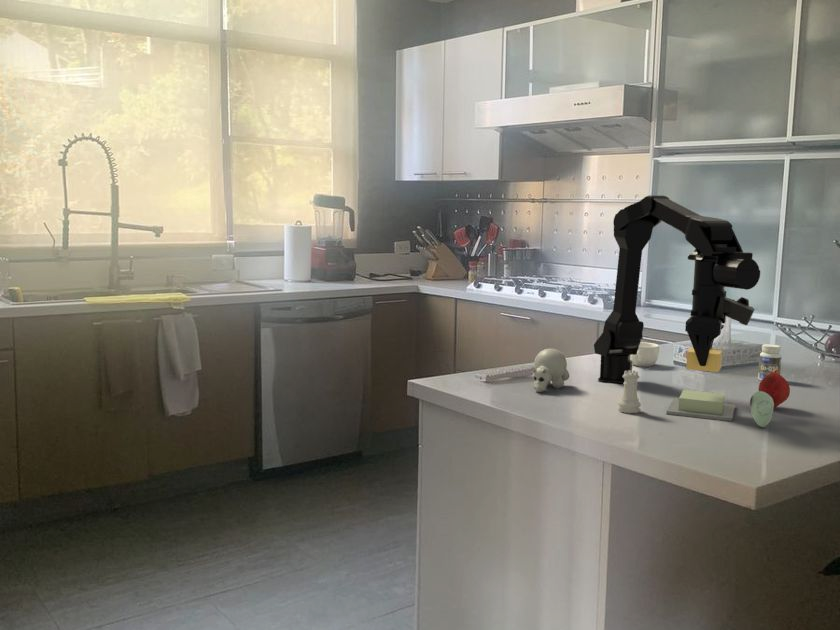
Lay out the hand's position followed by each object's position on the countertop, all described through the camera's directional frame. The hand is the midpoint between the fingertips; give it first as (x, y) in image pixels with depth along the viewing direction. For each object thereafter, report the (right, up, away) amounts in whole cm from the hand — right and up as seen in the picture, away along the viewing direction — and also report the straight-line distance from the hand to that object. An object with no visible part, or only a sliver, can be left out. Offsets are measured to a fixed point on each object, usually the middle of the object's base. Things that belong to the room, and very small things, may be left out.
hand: (704, 363), depth 159 cm
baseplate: (0, -10, +1) cm, 10 cm away
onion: (+15, -10, +4) cm, 19 cm away
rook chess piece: (-15, -10, 0) cm, 18 cm away
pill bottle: (+26, -6, +31) cm, 41 cm away
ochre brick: (0, -1, 0) cm, 1 cm away
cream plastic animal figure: (-28, -7, +20) cm, 35 cm away
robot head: (+7, -11, -10) cm, 17 cm away
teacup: (0, -4, +47) cm, 47 cm away
